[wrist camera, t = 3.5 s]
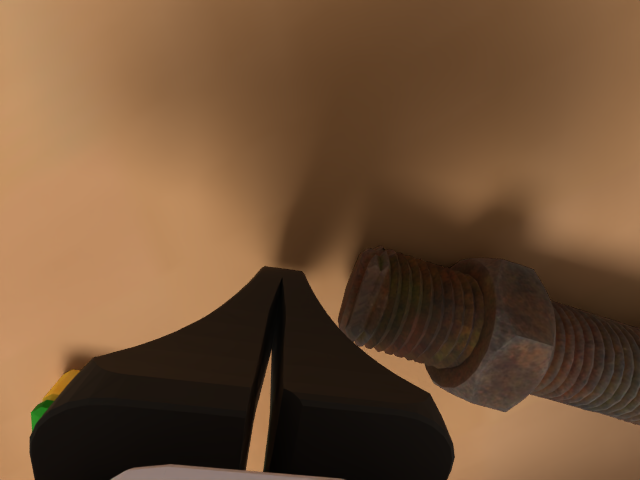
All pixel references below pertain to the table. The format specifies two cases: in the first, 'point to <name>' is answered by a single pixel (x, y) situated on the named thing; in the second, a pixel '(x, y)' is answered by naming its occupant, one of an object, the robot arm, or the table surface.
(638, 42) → the table surface
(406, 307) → the bolt
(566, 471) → the table surface
